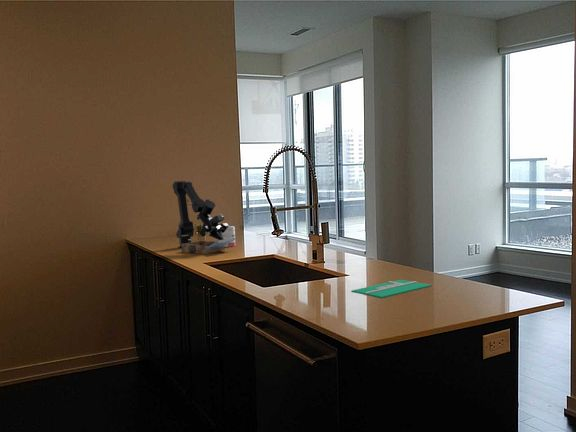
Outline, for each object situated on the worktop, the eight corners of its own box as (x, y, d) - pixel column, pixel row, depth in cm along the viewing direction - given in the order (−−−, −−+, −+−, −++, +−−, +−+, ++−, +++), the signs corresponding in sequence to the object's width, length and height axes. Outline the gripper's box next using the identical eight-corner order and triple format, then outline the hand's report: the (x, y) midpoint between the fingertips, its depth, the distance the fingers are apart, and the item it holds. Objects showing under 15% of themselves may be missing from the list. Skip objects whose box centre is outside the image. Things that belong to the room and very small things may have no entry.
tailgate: (205, 247, 323) (217, 240, 317) (222, 244, 334) (234, 237, 328) (206, 250, 322) (218, 243, 317) (223, 246, 334) (235, 239, 328)
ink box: (235, 245, 351) (235, 225, 350) (234, 246, 346) (233, 226, 345) (221, 245, 352) (220, 226, 351) (219, 247, 347) (218, 227, 346)
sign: (400, 278, 231) (431, 284, 219) (400, 281, 231) (431, 287, 219) (351, 289, 215) (382, 295, 203) (351, 292, 215) (382, 299, 203)
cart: (179, 252, 331) (179, 244, 331) (202, 247, 346) (202, 240, 346) (203, 254, 321) (202, 246, 320) (226, 249, 336) (225, 241, 335)
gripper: (202, 211, 318) (218, 232, 313) (225, 208, 333) (241, 228, 328) (192, 225, 323) (208, 246, 318) (215, 222, 338) (231, 242, 333)
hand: (222, 240), depth 324 cm, fingers closed
